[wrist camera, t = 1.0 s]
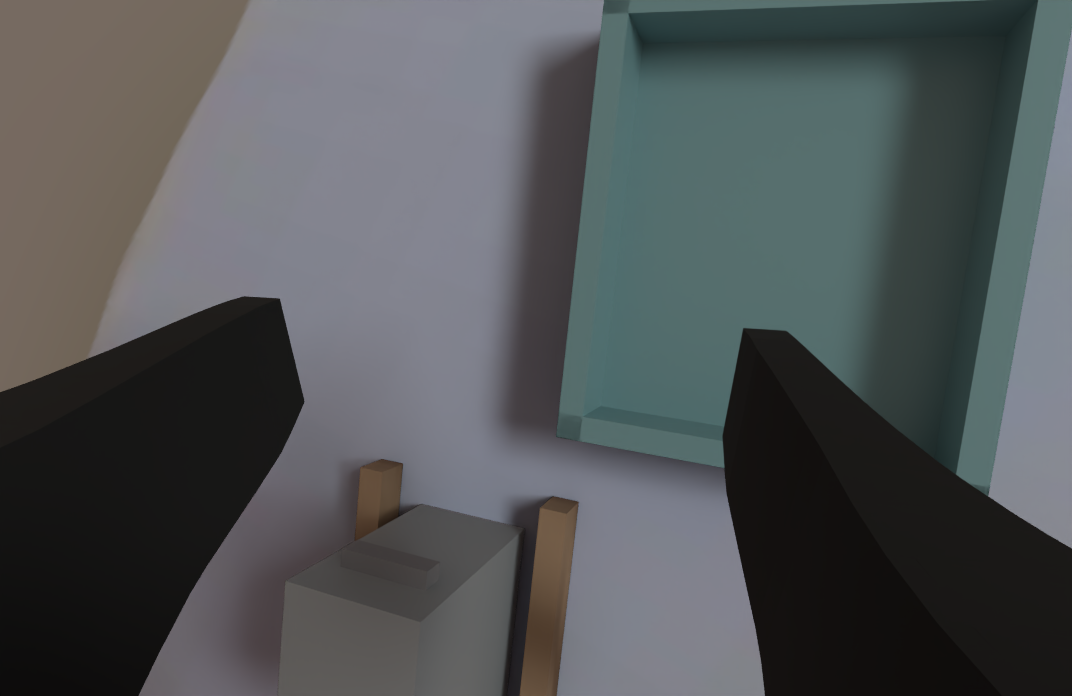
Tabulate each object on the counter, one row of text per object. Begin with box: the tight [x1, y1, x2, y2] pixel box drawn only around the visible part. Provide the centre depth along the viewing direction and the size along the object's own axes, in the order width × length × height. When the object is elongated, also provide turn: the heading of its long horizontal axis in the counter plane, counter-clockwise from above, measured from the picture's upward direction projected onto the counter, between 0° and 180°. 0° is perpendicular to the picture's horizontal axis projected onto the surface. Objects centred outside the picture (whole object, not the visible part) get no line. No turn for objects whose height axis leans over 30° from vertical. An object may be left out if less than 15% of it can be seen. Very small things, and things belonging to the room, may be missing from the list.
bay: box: [355, 459, 579, 696], centre depth 26 cm, size 10×8×2 cm
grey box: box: [277, 504, 525, 696], centre depth 22 cm, size 8×4×8 cm, turn 174°
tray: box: [556, 0, 1072, 496], centre depth 20 cm, size 14×12×3 cm
